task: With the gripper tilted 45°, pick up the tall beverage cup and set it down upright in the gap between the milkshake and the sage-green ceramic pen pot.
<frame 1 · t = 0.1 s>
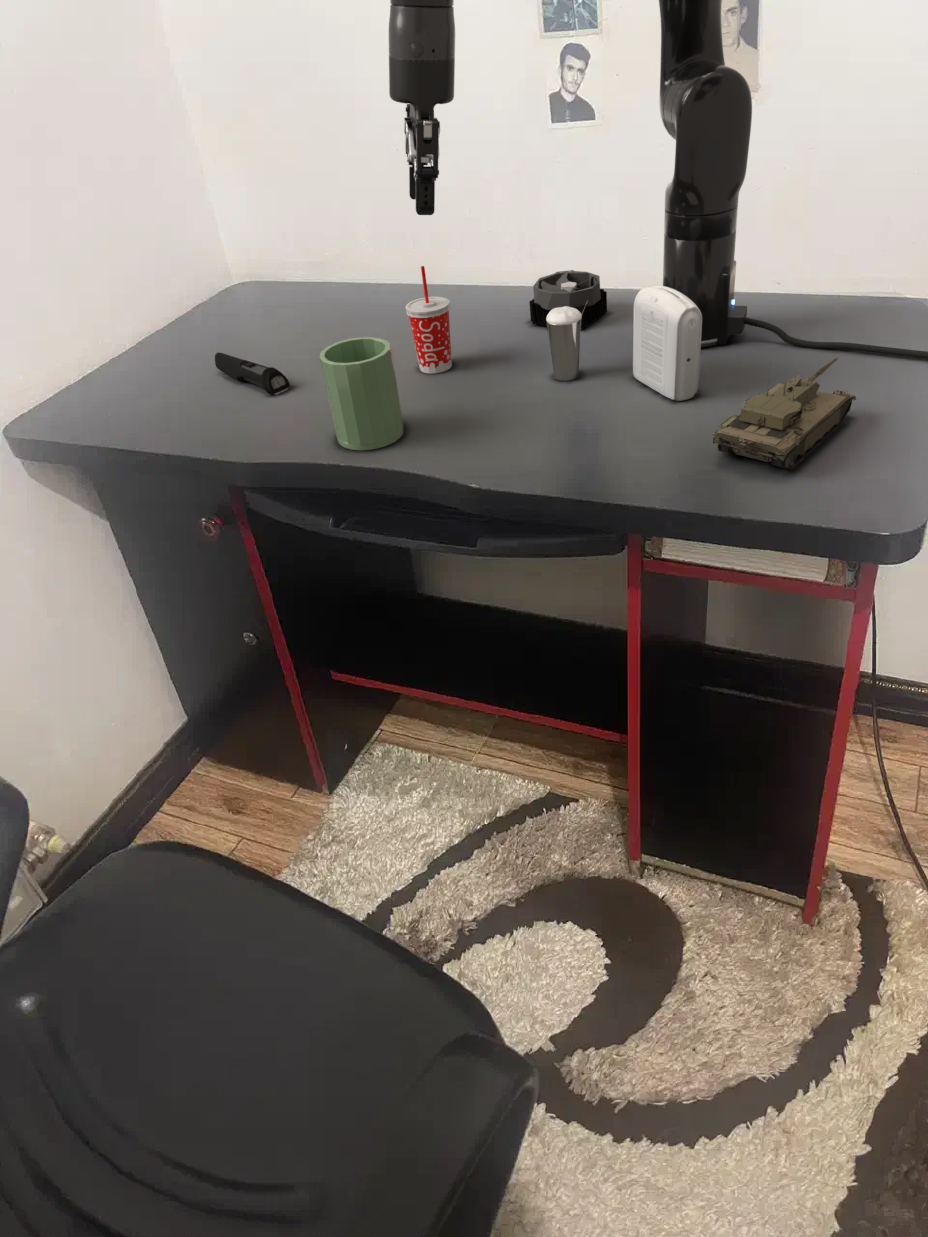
hand: (421, 206, 114), 22 cm above the table, tool pointing down, fingers open, 8 cm apart
pen pot: (370, 434, 115), on the table
cpu cooler: (568, 319, 140), on the table
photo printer: (664, 388, 117), on the table
milkshake: (569, 377, 123), on the table
tank: (788, 436, 103), on the table
beverage cup: (436, 368, 130), on the table
electric trimmer: (251, 383, 134), on the table
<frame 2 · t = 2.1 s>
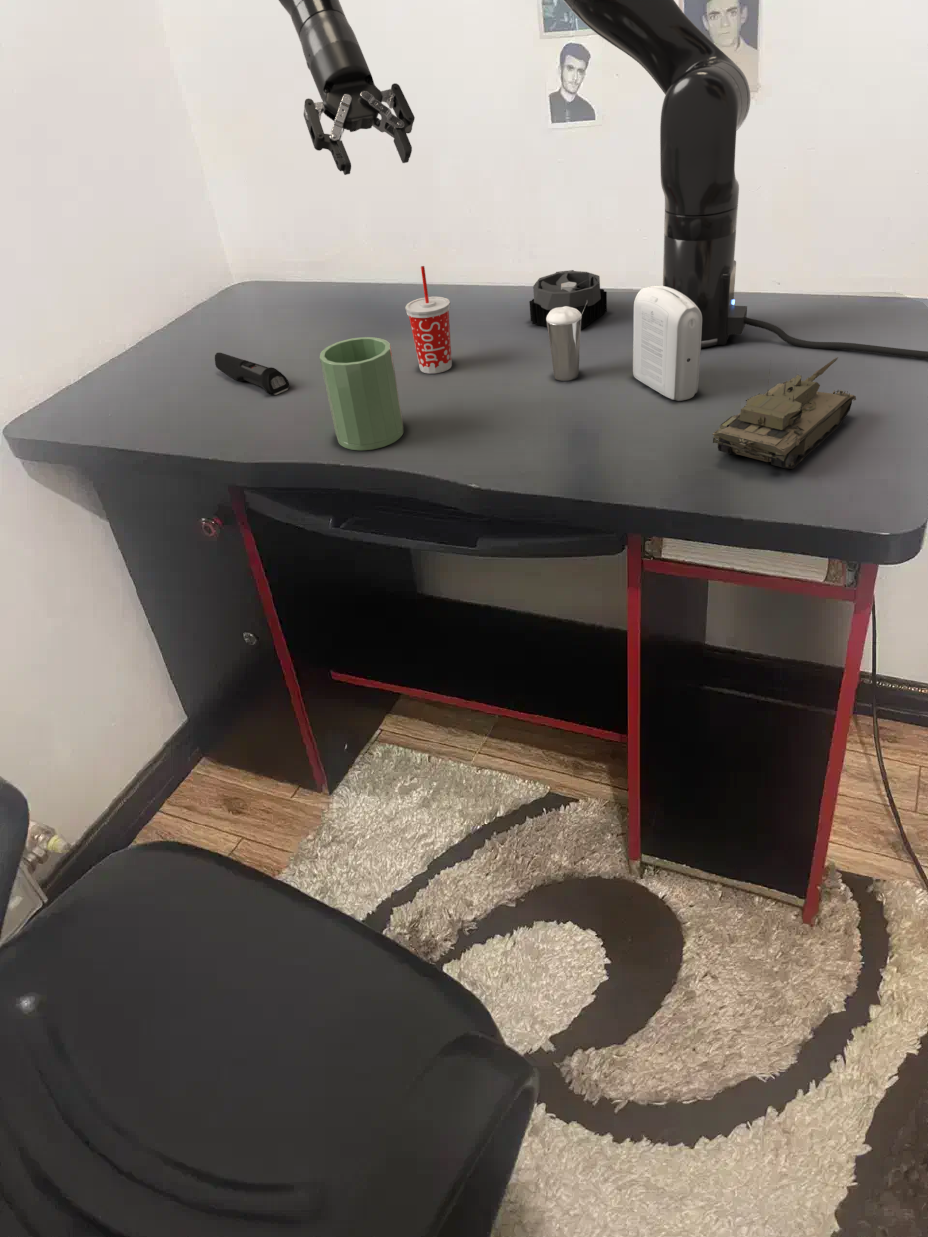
hand: (378, 164, 124), 25 cm above the table, tool tilted 45°, fingers open, 8 cm apart
nothing on the table moved.
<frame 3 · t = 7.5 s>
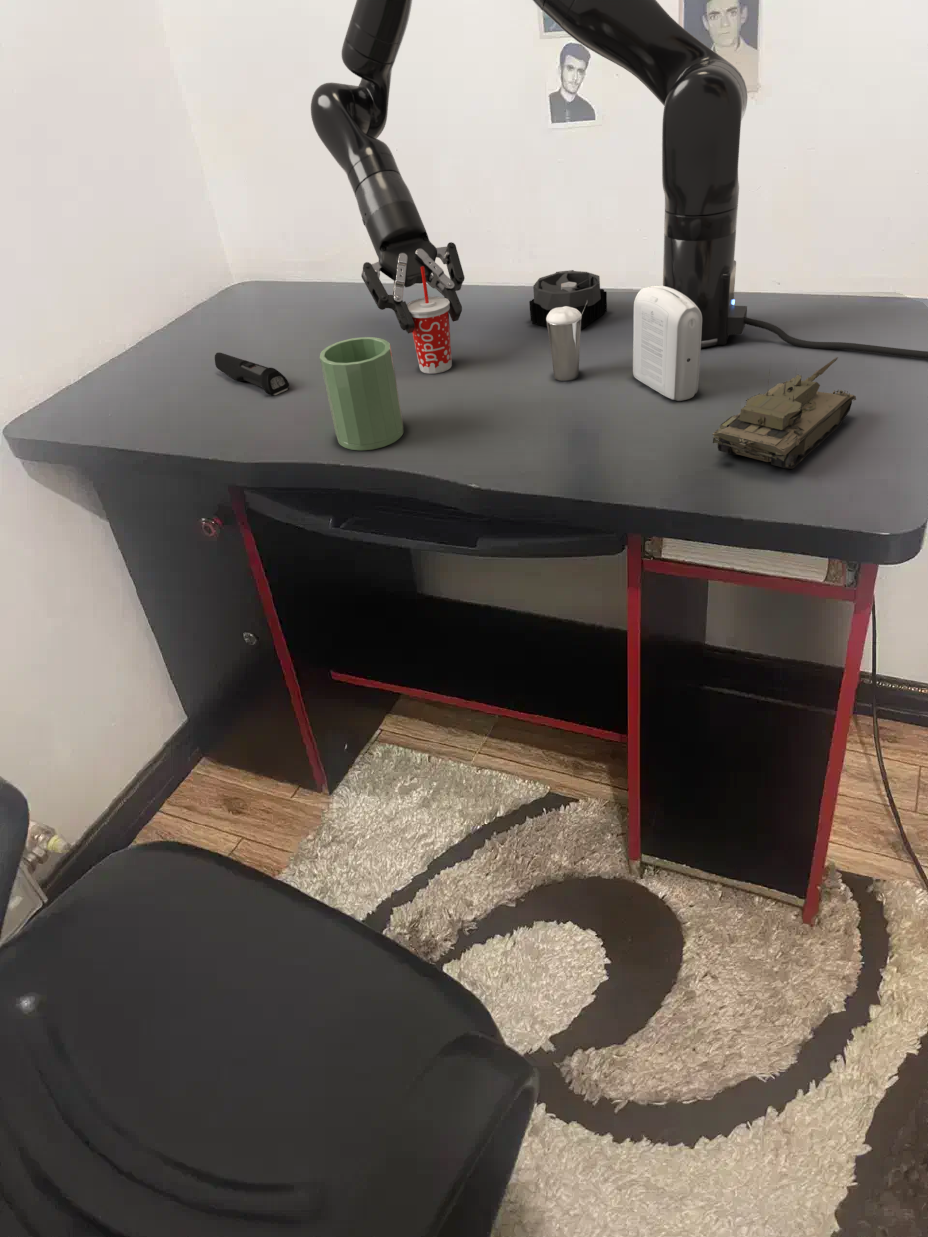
hand: (434, 323, 125), 7 cm above the table, tool tilted 45°, fingers closed on beverage cup, 6 cm apart
beverage cup: (436, 368, 130), on the table, touching gripper
everything else where it was.
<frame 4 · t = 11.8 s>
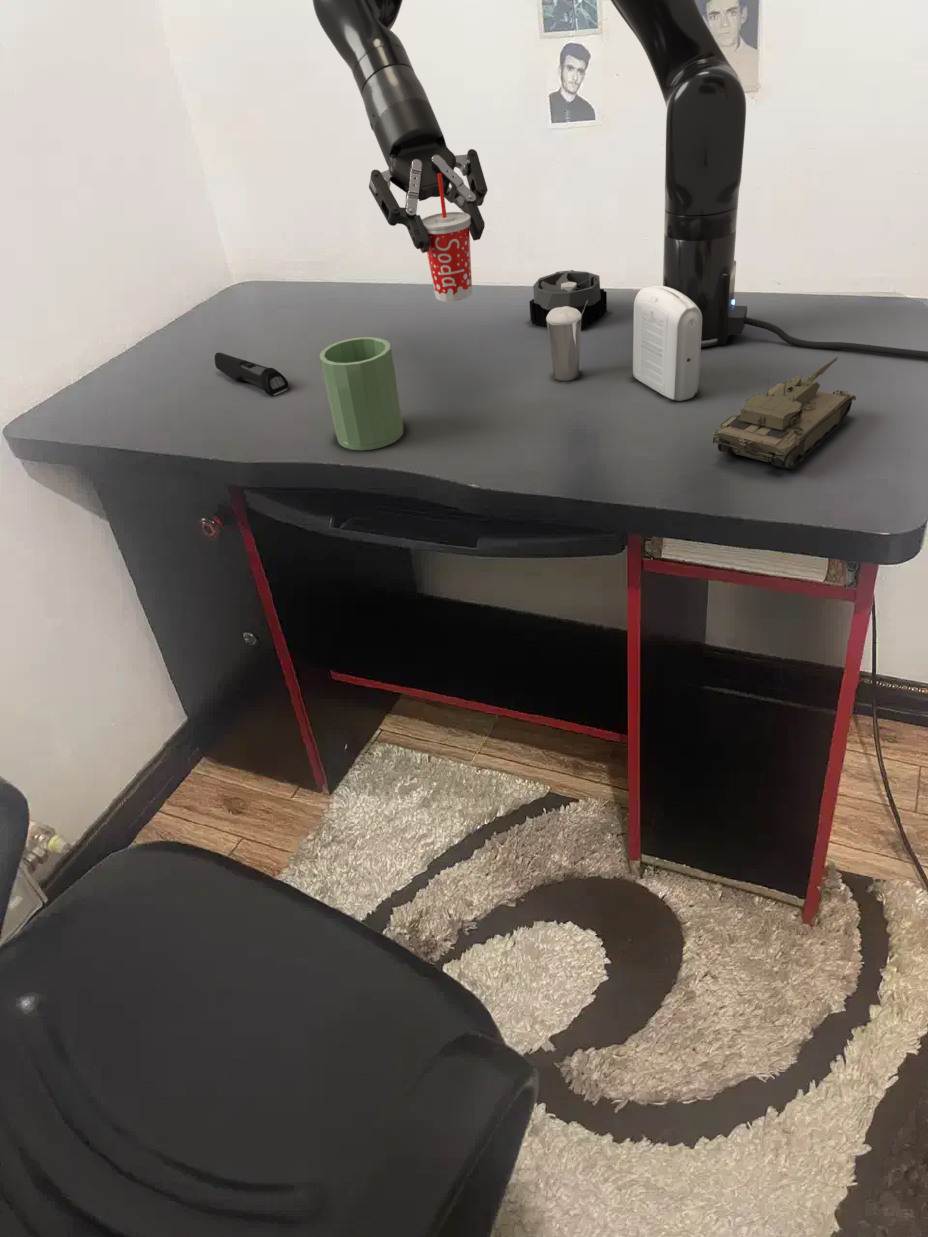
hand: (453, 241, 109), 20 cm above the table, tool tilted 45°, fingers closed on beverage cup, 6 cm apart
beverage cup: (454, 296, 114), point 13 cm above the table, touching gripper
everything else where it was.
when the fingers open (7 cm above the table, at t = 16.3 s): beverage cup stays where it is, on the table.
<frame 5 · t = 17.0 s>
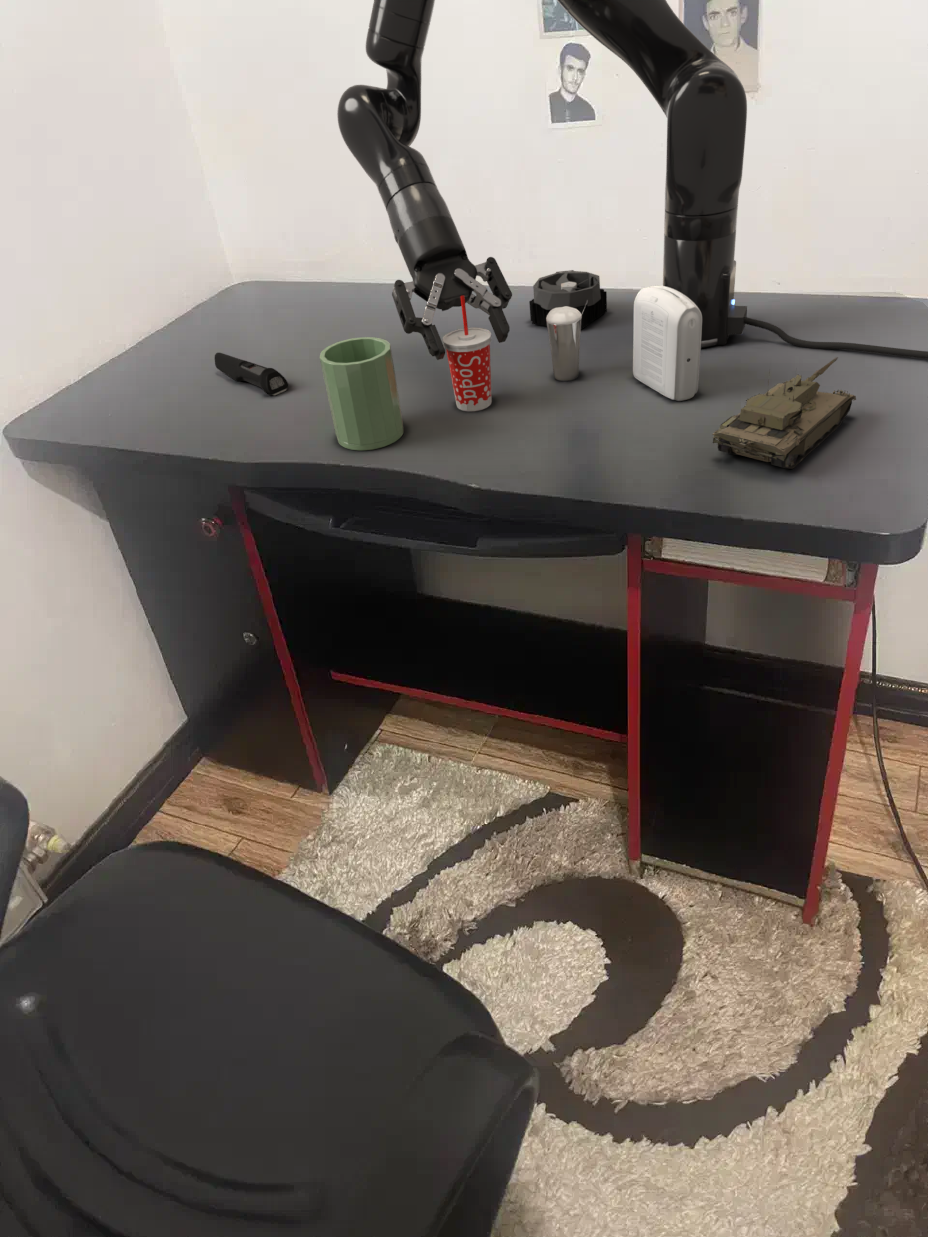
hand: (473, 347, 113), 8 cm above the table, tool tilted 45°, fingers open, 8 cm apart
beverage cup: (474, 405, 119), on the table
everything else where it was.
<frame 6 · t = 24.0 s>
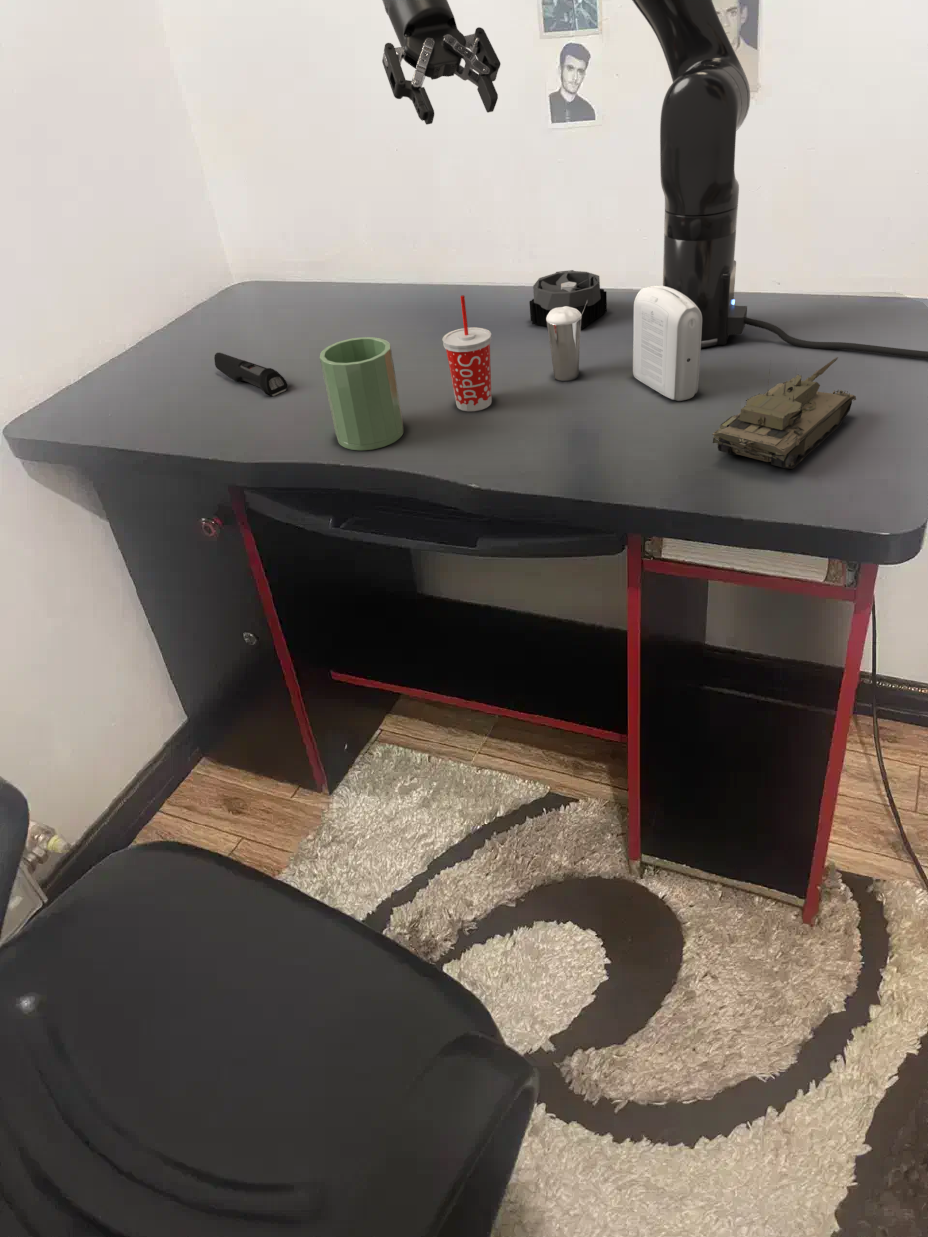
hand: (462, 113, 115), 31 cm above the table, tool tilted 45°, fingers open, 8 cm apart
nothing on the table moved.
at the end: beverage cup 0.2 cm from the target spot, on the table; beverage cup tilted 0°; the gripper is holding nothing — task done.
